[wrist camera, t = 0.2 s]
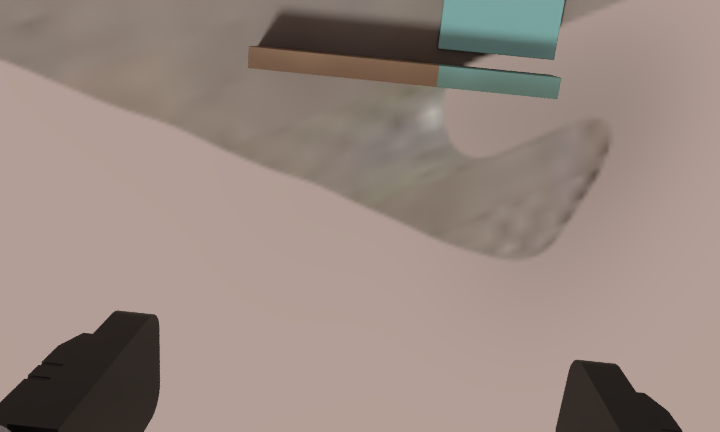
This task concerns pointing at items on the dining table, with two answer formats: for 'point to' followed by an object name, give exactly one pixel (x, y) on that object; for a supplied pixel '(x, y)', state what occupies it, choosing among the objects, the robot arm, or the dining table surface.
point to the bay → (404, 71)
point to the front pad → (502, 27)
